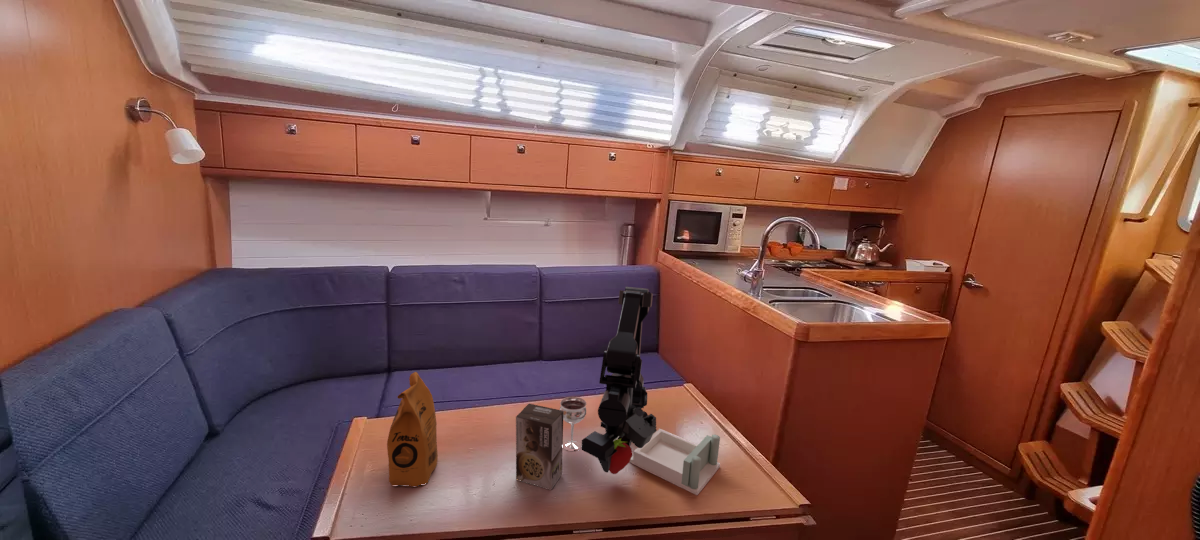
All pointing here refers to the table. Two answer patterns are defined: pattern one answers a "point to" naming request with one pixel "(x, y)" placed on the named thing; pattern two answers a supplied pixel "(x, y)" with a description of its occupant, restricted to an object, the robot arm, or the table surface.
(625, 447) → the strawberry
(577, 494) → the table surface
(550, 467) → the coffee box
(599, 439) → the robot arm
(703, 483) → the cradle stand
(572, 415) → the wineglass
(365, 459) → the table surface
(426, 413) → the coffee package
